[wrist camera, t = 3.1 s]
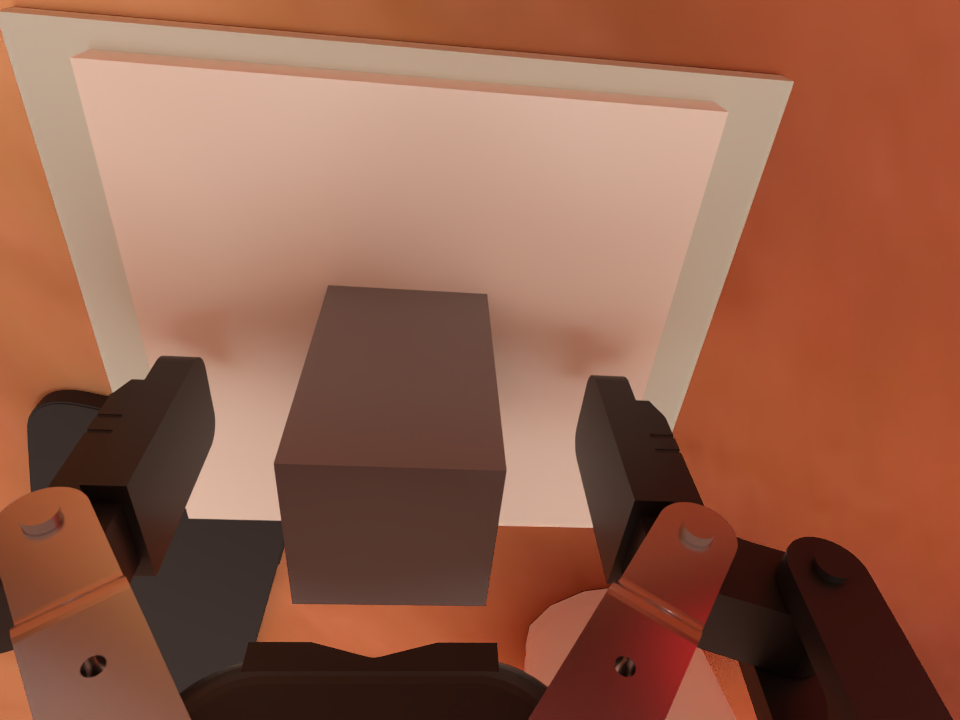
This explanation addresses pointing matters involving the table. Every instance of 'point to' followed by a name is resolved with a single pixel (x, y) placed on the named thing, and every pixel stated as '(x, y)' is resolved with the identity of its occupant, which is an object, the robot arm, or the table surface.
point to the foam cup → (699, 701)
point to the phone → (178, 559)
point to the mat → (69, 152)
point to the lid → (393, 293)
